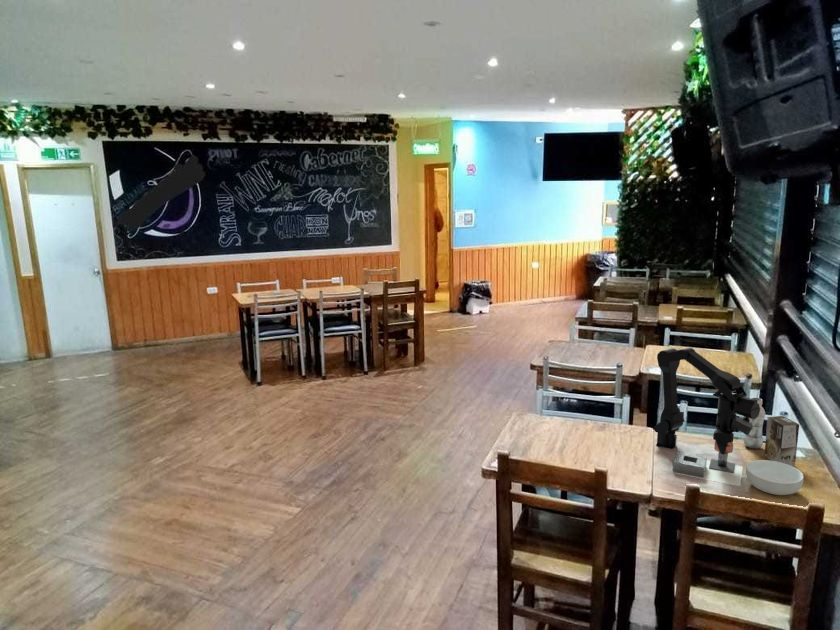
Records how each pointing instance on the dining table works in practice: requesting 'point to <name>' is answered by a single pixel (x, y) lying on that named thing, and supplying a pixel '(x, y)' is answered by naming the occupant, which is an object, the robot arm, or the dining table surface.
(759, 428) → the plastic bottle
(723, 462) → the copper disc with stripe
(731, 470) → the pad
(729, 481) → the board
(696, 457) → the metal block
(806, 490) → the dining table surface
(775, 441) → the coffee box
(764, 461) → the cereal bowl
